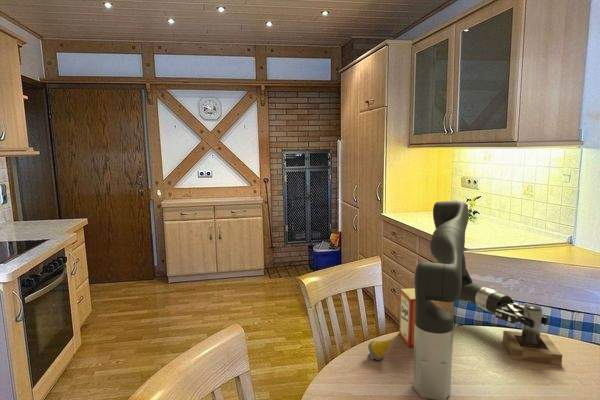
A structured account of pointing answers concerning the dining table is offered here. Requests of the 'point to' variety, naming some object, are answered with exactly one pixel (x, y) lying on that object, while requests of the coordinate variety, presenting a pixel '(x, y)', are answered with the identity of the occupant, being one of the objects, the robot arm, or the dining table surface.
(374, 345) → the yellow cone tip
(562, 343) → the dining table surface
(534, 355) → the frame
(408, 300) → the baking soda box
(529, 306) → the metal tea canister
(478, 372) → the dining table surface
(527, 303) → the robot arm
